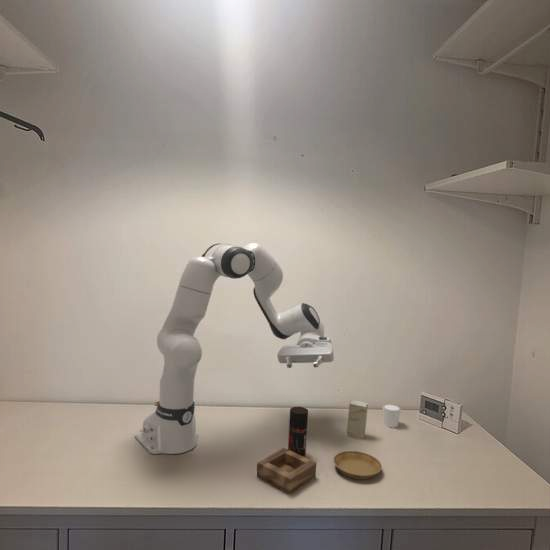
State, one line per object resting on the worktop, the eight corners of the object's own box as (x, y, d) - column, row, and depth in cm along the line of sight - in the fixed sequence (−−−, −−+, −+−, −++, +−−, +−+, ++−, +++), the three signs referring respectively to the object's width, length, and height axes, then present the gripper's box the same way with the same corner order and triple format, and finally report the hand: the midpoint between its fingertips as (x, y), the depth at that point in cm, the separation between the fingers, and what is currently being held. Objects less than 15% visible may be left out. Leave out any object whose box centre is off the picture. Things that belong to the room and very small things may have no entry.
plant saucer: (324, 471, 132) (325, 463, 132) (345, 453, 144) (346, 446, 144) (369, 489, 124) (370, 481, 124) (387, 468, 136) (388, 461, 136)
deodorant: (304, 460, 138) (307, 415, 137) (286, 457, 139) (288, 412, 138) (306, 451, 144) (309, 407, 142) (289, 448, 145) (291, 405, 144)
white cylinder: (401, 424, 169) (402, 406, 169) (396, 430, 164) (397, 412, 163) (384, 419, 173) (385, 402, 172) (378, 425, 167) (380, 407, 167)
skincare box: (346, 435, 157) (348, 403, 156) (349, 430, 161) (351, 399, 160) (363, 439, 154) (365, 406, 153) (365, 434, 159) (368, 402, 157)
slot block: (256, 476, 127) (257, 462, 126) (283, 461, 136) (283, 447, 136) (289, 494, 119) (290, 479, 119) (315, 477, 128) (316, 462, 128)
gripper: (280, 339, 162) (271, 358, 150) (334, 337, 157) (329, 357, 144) (283, 354, 164) (274, 374, 152) (336, 352, 159) (332, 373, 146)
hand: (302, 365), depth 148 cm, fingers open, 8 cm apart
